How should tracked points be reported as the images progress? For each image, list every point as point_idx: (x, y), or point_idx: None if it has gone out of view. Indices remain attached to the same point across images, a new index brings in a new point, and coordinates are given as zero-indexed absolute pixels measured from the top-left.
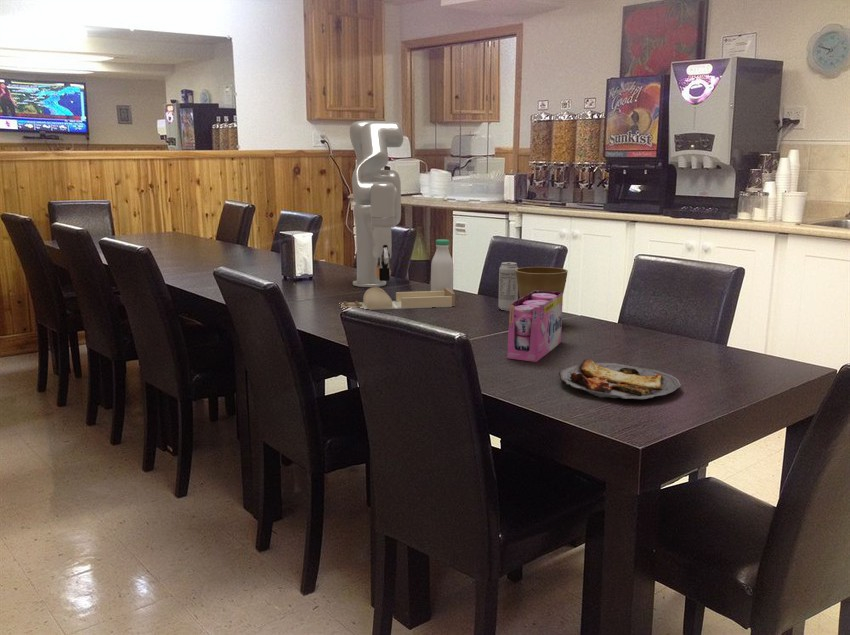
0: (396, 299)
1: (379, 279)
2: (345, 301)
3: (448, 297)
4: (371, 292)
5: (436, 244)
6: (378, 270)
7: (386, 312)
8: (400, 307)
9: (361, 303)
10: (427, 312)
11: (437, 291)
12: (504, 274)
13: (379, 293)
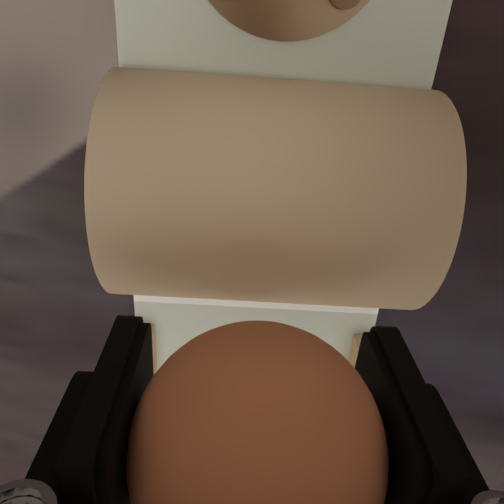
0: (356, 344)
1: (129, 320)
2: None
3: None
4: (234, 161)
5: None
6: (166, 418)
7: (11, 195)
8: (136, 315)
9: (374, 56)
10: (11, 416)
11: None
12: None
13: (90, 222)
